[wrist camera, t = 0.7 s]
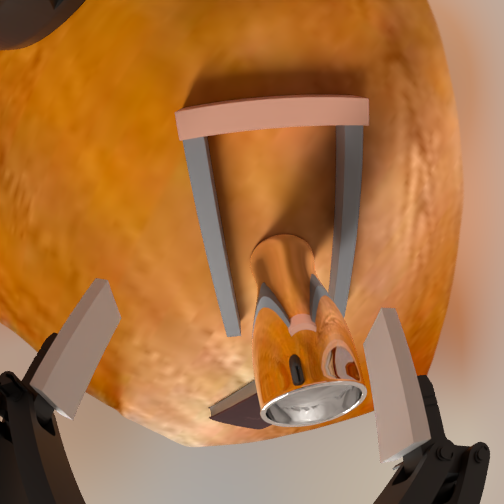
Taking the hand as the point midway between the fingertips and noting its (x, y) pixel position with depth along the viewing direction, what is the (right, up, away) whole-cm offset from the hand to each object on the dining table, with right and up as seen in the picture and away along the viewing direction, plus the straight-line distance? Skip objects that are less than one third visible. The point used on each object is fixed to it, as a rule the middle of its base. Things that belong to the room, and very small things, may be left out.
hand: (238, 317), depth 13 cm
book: (+3, -21, +31) cm, 38 cm away
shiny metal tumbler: (+3, +2, +14) cm, 15 cm away
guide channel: (+3, +5, +12) cm, 13 cm away
